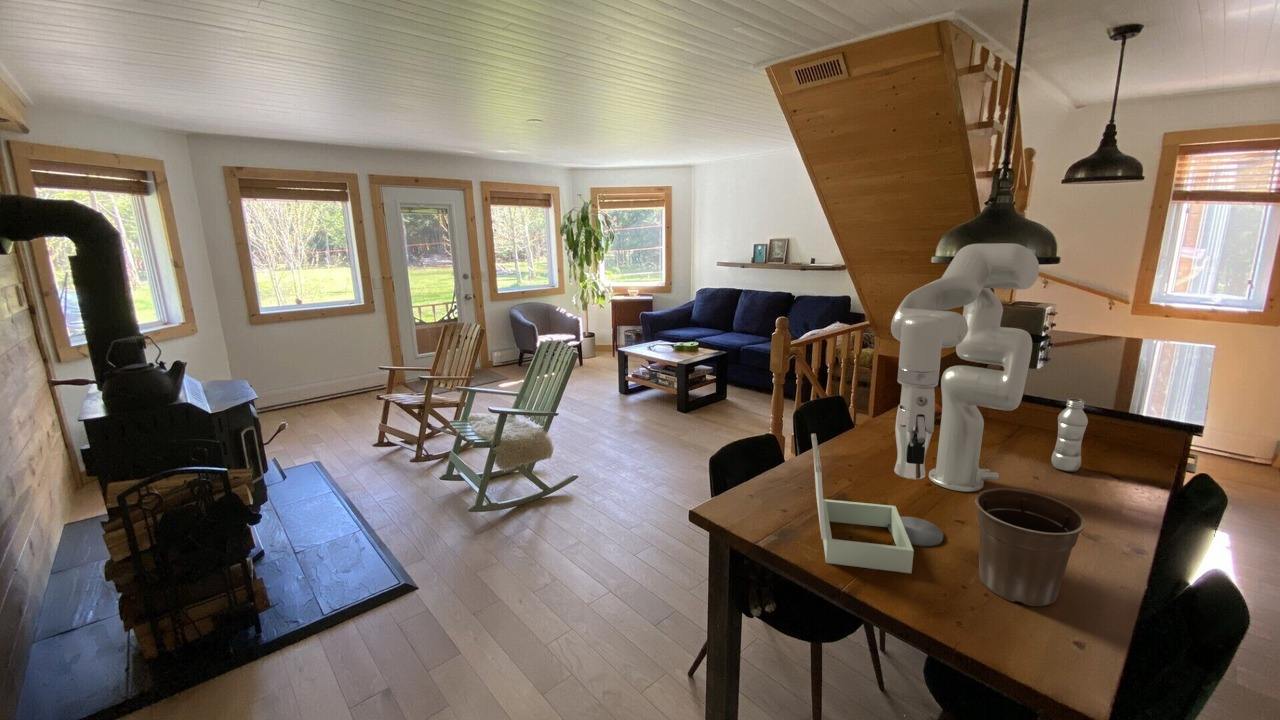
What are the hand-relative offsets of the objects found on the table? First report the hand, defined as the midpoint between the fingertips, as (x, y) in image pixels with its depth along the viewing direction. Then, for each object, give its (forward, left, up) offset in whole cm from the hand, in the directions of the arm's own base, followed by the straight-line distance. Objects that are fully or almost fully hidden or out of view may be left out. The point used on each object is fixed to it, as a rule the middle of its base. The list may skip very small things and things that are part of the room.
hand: (911, 455), depth 114 cm
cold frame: (+10, +6, -19) cm, 22 cm away
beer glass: (0, 0, -4) cm, 4 cm away
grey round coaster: (-2, -1, -19) cm, 19 cm away
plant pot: (-16, +15, -19) cm, 29 cm away
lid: (+19, +6, -6) cm, 20 cm away
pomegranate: (-24, -79, -19) cm, 85 cm away
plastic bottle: (-49, -44, -19) cm, 69 cm away
